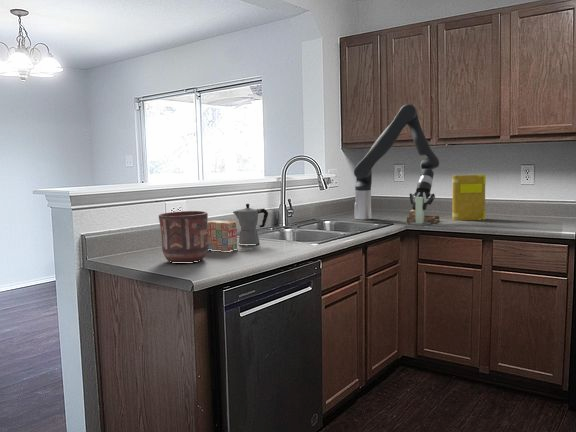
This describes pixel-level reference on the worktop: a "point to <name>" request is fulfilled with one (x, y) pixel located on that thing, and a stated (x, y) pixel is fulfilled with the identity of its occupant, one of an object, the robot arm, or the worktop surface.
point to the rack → (426, 219)
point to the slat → (419, 210)
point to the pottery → (184, 235)
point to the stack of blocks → (222, 235)
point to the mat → (420, 224)
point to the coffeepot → (249, 224)
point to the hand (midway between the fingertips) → (418, 209)
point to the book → (468, 197)
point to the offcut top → (412, 213)
